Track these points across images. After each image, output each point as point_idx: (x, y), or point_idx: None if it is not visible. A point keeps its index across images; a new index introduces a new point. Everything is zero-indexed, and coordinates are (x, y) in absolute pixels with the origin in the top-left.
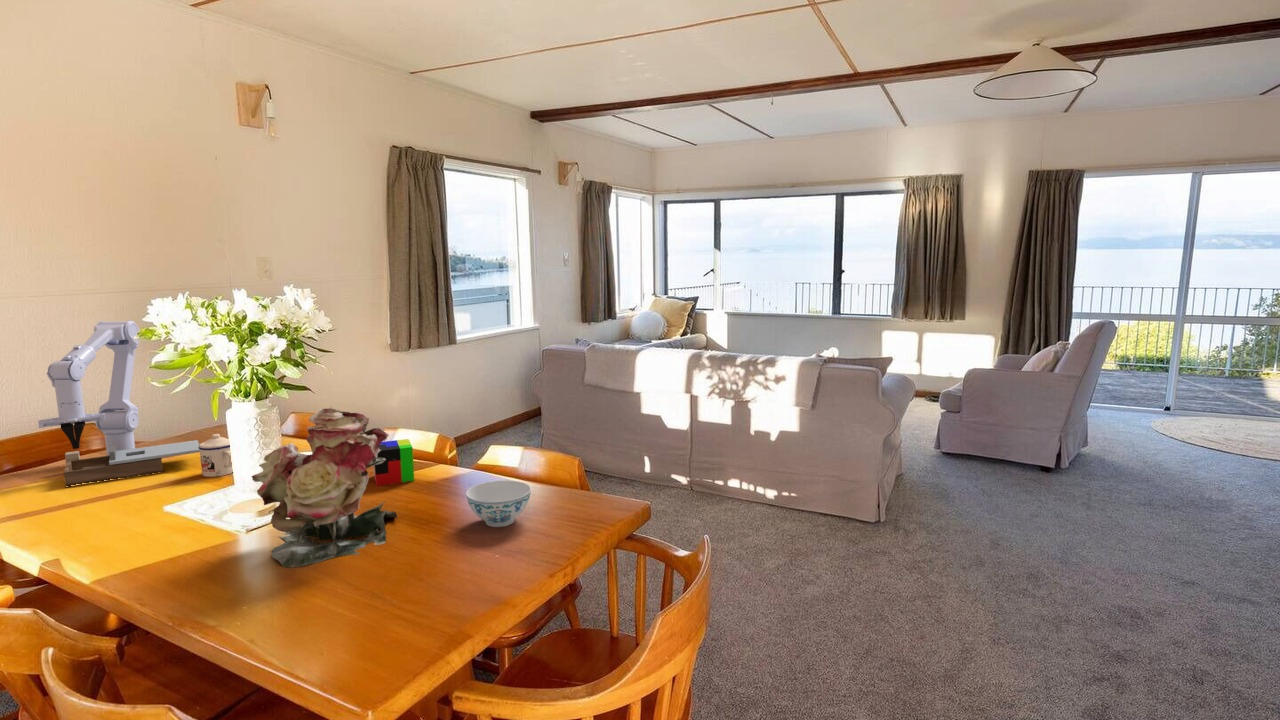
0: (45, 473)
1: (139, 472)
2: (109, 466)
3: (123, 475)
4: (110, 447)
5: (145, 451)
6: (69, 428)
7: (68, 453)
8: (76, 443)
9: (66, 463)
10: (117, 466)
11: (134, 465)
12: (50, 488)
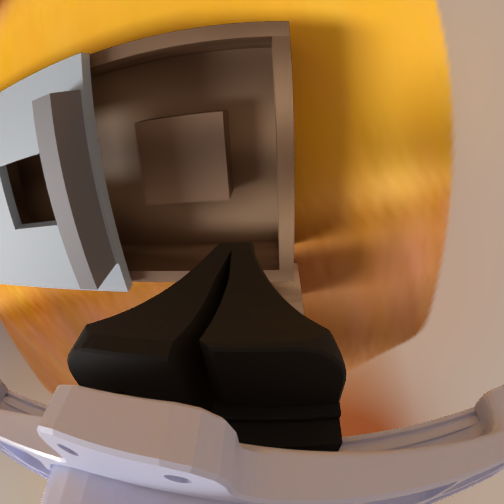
0: (356, 314)
1: None
2: (93, 54)
3: None
4: (73, 224)
5: (7, 208)
6: (233, 337)
7: None
8: (221, 255)
9: (299, 290)
10: None
11: None
12: (340, 66)
